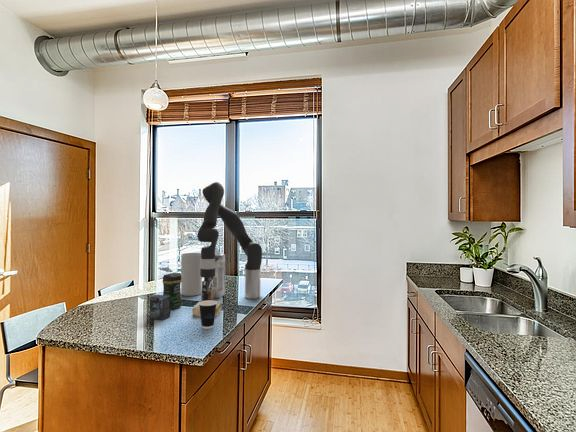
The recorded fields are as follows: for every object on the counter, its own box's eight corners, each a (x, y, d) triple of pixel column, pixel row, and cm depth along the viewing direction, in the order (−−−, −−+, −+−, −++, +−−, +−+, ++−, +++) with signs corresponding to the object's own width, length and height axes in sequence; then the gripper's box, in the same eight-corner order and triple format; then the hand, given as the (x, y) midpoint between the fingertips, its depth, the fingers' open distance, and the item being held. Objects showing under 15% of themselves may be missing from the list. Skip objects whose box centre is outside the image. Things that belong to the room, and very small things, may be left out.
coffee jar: (170, 311, 170) (170, 275, 170) (159, 308, 174) (159, 274, 173) (184, 306, 179) (184, 272, 179) (173, 304, 182) (173, 271, 182)
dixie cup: (208, 331, 142) (208, 306, 142) (194, 327, 146) (194, 303, 146) (220, 325, 149) (220, 301, 149) (207, 322, 153) (207, 299, 153)
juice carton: (226, 294, 205) (226, 251, 205) (221, 298, 195) (221, 253, 194) (212, 294, 206) (212, 251, 206) (206, 298, 196) (206, 253, 195)
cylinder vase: (198, 296, 200) (198, 255, 200) (178, 296, 200) (178, 255, 200) (204, 291, 212) (204, 252, 212) (185, 291, 213) (185, 252, 212)
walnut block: (213, 302, 171) (213, 289, 171) (211, 305, 166) (211, 291, 166) (203, 302, 171) (204, 289, 171) (201, 305, 166) (201, 291, 166)
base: (221, 309, 174) (221, 301, 174) (216, 316, 162) (216, 307, 162) (198, 308, 174) (199, 300, 174) (192, 316, 162) (192, 307, 162)
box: (149, 318, 158) (149, 296, 158) (157, 315, 163) (157, 294, 163) (162, 320, 155) (163, 298, 155) (170, 317, 161) (170, 295, 161)
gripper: (212, 269, 161) (211, 302, 161) (218, 265, 175) (217, 295, 175) (196, 269, 161) (196, 302, 161) (204, 264, 175) (203, 295, 175)
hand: (207, 298), depth 168 cm, fingers open, 8 cm apart
